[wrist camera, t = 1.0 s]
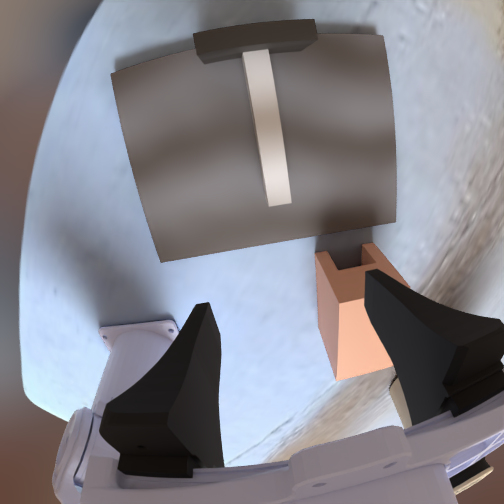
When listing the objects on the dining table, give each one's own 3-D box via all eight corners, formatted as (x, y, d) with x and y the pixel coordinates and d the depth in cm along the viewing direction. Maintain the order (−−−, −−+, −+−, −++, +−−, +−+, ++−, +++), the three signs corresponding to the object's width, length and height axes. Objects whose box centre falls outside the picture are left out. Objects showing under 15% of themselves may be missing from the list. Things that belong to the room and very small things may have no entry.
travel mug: (429, 387, 35) (474, 484, 20) (382, 401, 35) (422, 511, 19) (447, 351, 32) (507, 459, 16) (397, 366, 31) (452, 492, 16)
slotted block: (368, 316, 27) (393, 365, 21) (318, 327, 27) (336, 381, 21) (372, 242, 23) (410, 287, 18) (314, 252, 23) (339, 303, 18)
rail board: (390, 217, 22) (421, 245, 18) (163, 256, 23) (148, 294, 18) (377, 37, 16) (413, 26, 11) (116, 74, 16) (82, 69, 12)
